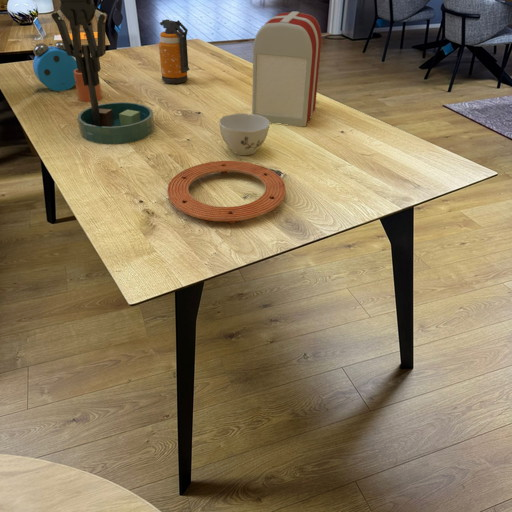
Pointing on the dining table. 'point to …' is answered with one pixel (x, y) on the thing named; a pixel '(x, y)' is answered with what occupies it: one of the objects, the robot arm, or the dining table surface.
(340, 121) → the dining table surface
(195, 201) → the ring
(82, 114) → the bowl
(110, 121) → the walnut block
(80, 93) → the holder
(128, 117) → the sage block
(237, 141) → the teacup
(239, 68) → the dining table surface
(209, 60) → the dining table surface
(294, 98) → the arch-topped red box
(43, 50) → the alarm clock
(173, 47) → the canister
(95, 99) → the stick
